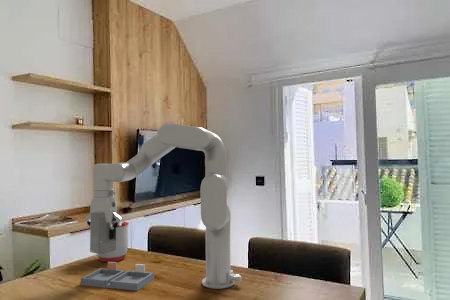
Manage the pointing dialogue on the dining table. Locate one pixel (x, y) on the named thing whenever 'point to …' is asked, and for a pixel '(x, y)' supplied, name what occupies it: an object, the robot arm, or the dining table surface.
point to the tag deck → (118, 277)
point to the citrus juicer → (118, 245)
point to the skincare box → (100, 235)
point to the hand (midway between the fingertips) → (103, 238)
